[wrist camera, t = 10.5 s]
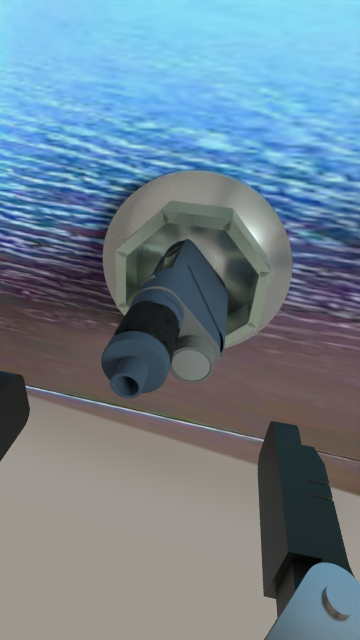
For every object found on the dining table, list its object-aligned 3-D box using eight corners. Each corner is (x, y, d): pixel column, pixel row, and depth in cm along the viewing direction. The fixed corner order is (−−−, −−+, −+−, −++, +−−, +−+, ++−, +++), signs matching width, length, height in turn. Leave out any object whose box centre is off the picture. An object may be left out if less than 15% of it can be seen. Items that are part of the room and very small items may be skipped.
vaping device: (185, 228, 20) (128, 339, 10) (235, 294, 22) (231, 448, 11) (153, 252, 21) (72, 376, 11) (203, 313, 23) (173, 470, 13)
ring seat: (106, 157, 20) (81, 164, 17) (313, 181, 19) (328, 193, 16) (110, 328, 26) (92, 357, 23) (266, 353, 25) (270, 386, 22)
